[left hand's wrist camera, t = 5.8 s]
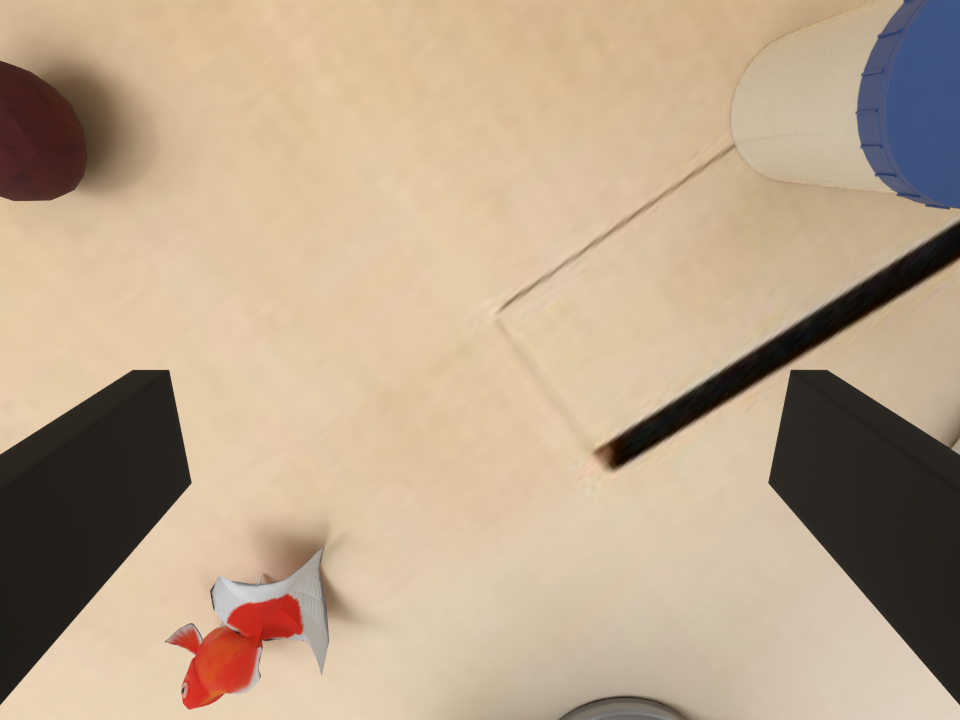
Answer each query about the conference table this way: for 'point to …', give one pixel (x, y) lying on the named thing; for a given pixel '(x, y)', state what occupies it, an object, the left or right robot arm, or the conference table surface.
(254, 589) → the fish
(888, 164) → the lid
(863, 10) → the jar
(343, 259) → the conference table surface
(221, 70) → the conference table surface
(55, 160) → the dark brown round piece
